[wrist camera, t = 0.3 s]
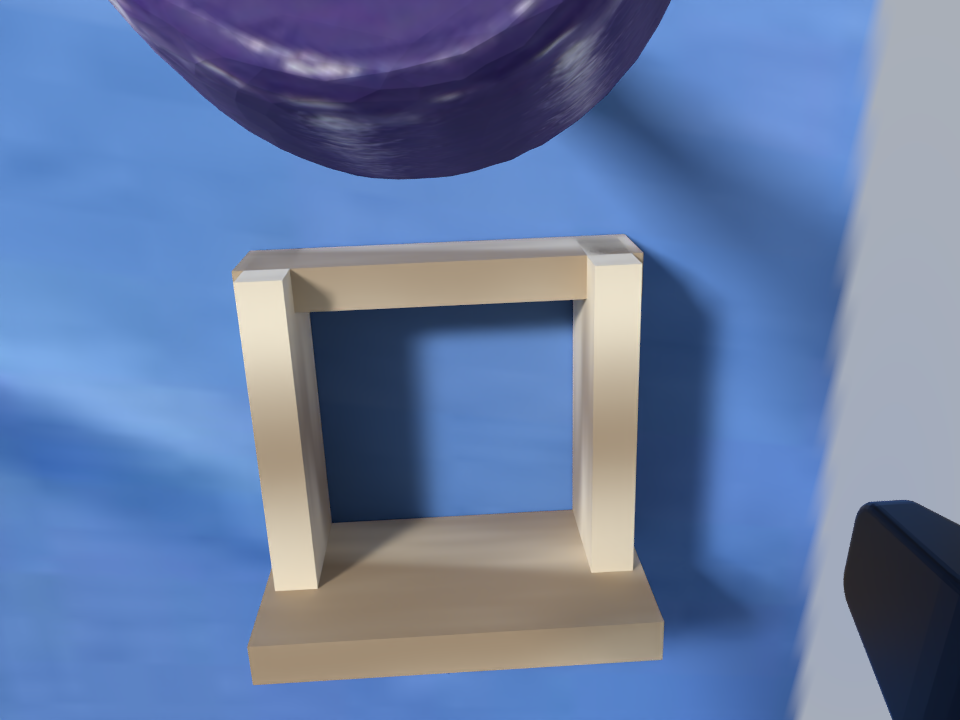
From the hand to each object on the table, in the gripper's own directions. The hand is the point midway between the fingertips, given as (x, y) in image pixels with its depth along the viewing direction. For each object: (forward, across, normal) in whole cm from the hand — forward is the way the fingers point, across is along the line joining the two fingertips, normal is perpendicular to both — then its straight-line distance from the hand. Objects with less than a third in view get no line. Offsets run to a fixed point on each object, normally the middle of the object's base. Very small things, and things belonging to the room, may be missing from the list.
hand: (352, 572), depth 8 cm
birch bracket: (+13, -1, +6) cm, 15 cm away
